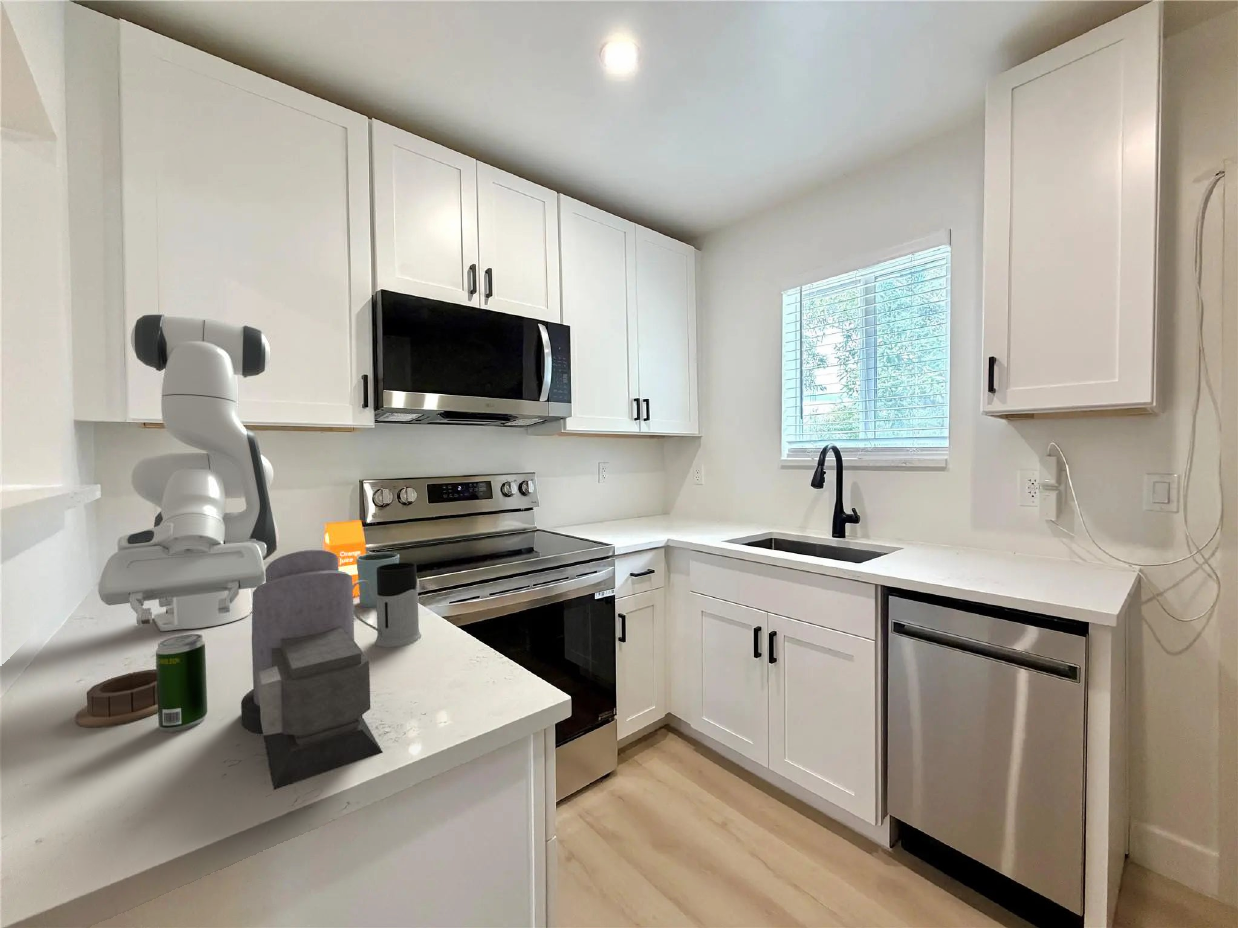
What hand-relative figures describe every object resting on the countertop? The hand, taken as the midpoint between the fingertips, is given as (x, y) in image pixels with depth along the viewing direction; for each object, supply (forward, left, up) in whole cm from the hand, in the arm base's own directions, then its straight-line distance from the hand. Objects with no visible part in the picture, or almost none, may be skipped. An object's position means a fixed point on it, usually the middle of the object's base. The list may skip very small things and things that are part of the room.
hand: (185, 616), depth 79 cm
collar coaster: (-7, -4, -14) cm, 16 cm away
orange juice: (-40, +49, -14) cm, 65 cm away
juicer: (+21, +7, -14) cm, 26 cm away
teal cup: (-25, +49, -14) cm, 57 cm away
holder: (+3, +32, -14) cm, 35 cm away
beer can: (+6, -2, -14) cm, 15 cm away
